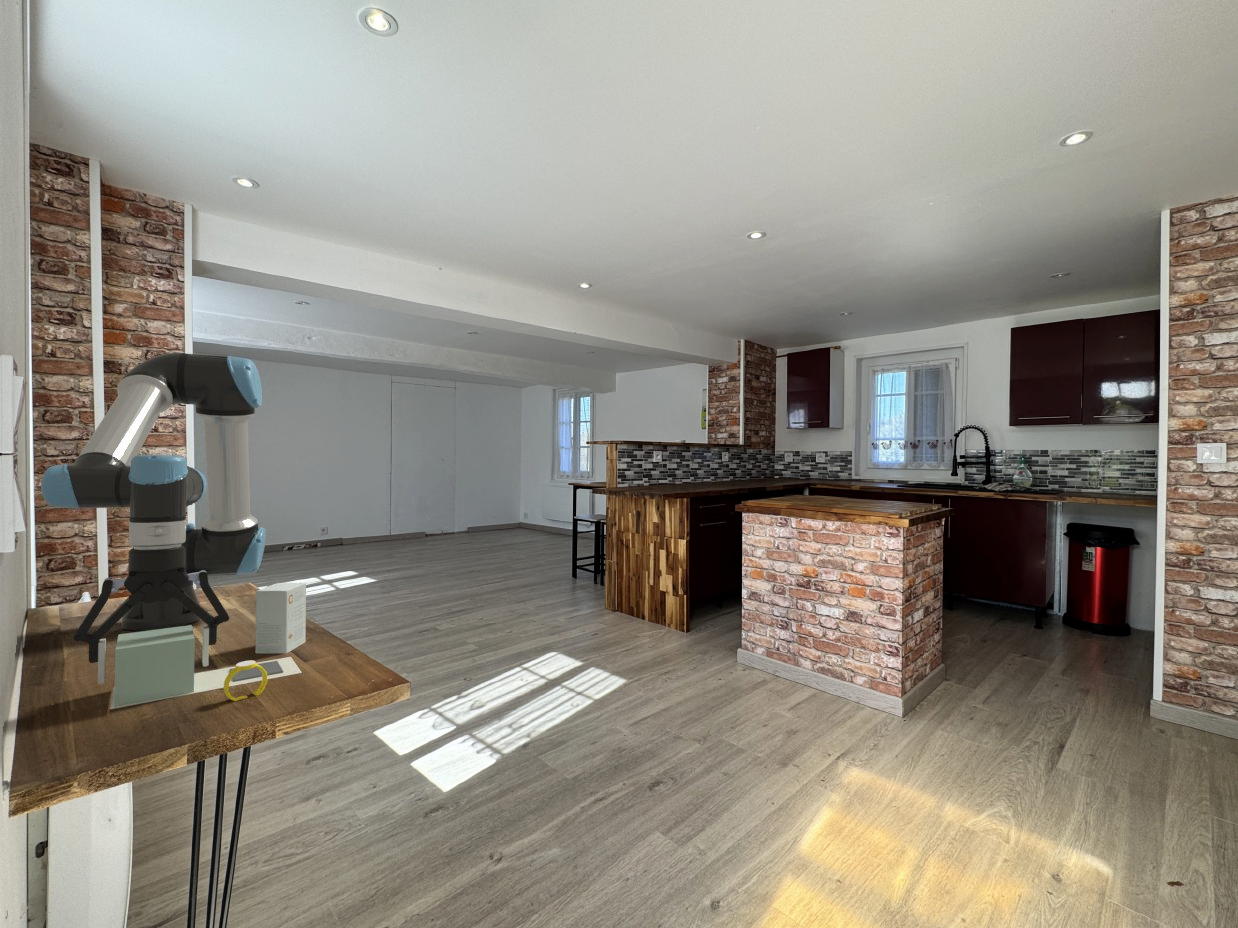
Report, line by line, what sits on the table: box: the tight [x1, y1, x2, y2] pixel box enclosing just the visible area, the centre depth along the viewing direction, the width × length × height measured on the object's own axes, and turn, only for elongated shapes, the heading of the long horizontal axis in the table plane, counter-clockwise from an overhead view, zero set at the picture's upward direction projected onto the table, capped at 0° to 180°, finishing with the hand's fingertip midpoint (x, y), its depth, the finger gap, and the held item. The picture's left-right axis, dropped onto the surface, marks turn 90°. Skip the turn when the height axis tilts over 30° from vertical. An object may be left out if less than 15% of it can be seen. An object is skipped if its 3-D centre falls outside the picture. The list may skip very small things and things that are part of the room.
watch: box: [222, 659, 269, 702], centre depth 95 cm, size 6×3×6 cm, turn 141°
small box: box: [254, 582, 307, 654], centre depth 121 cm, size 8×6×13 cm
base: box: [109, 656, 303, 710], centre depth 102 cm, size 11×26×1 cm, turn 129°
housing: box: [114, 624, 196, 707], centre depth 97 cm, size 10×10×9 cm
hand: (155, 672), depth 97 cm, fingers open, 13 cm apart
